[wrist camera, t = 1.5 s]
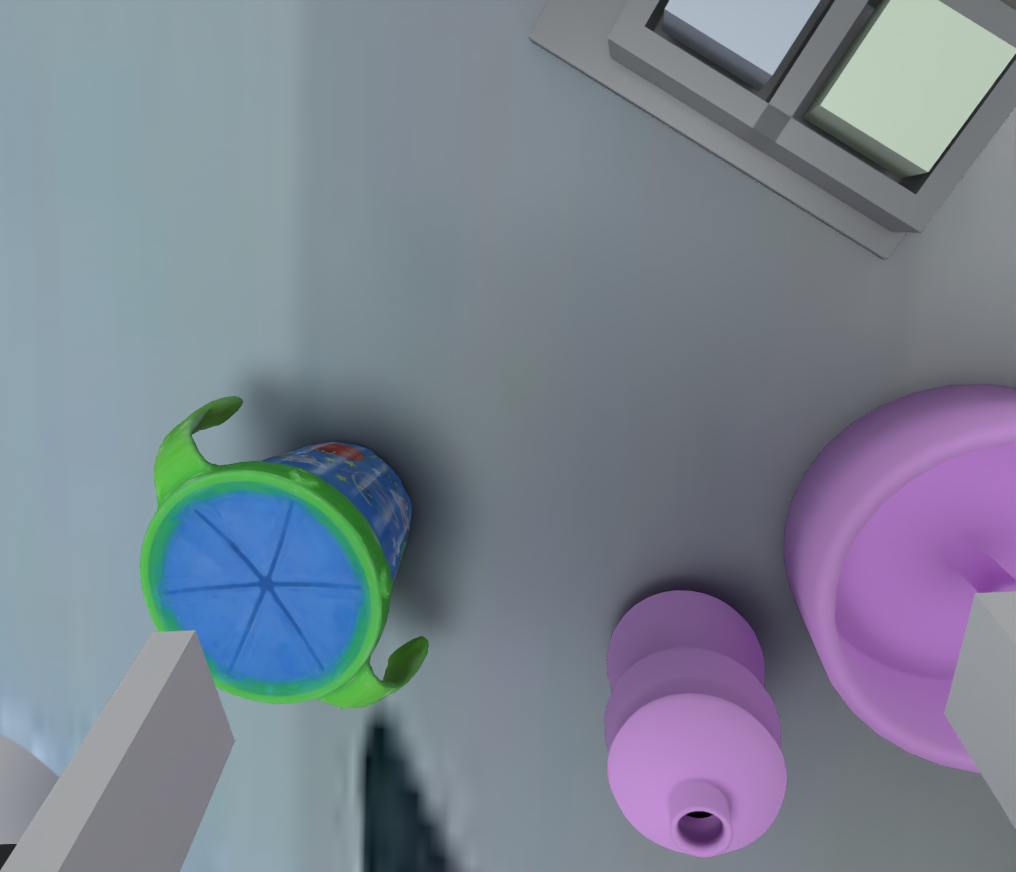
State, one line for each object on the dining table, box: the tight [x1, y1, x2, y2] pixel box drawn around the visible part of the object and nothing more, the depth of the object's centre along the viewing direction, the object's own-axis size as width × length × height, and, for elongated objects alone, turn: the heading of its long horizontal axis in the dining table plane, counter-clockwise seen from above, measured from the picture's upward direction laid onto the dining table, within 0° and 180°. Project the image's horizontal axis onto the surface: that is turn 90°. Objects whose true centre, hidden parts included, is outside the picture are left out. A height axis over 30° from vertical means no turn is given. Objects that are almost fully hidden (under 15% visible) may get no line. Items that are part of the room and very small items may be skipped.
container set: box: [604, 384, 1016, 858], centre depth 30 cm, size 25×15×13 cm, turn 117°
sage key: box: [803, 0, 1016, 178], centre depth 27 cm, size 4×4×3 cm
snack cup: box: [140, 396, 429, 709], centre depth 35 cm, size 16×10×10 cm
